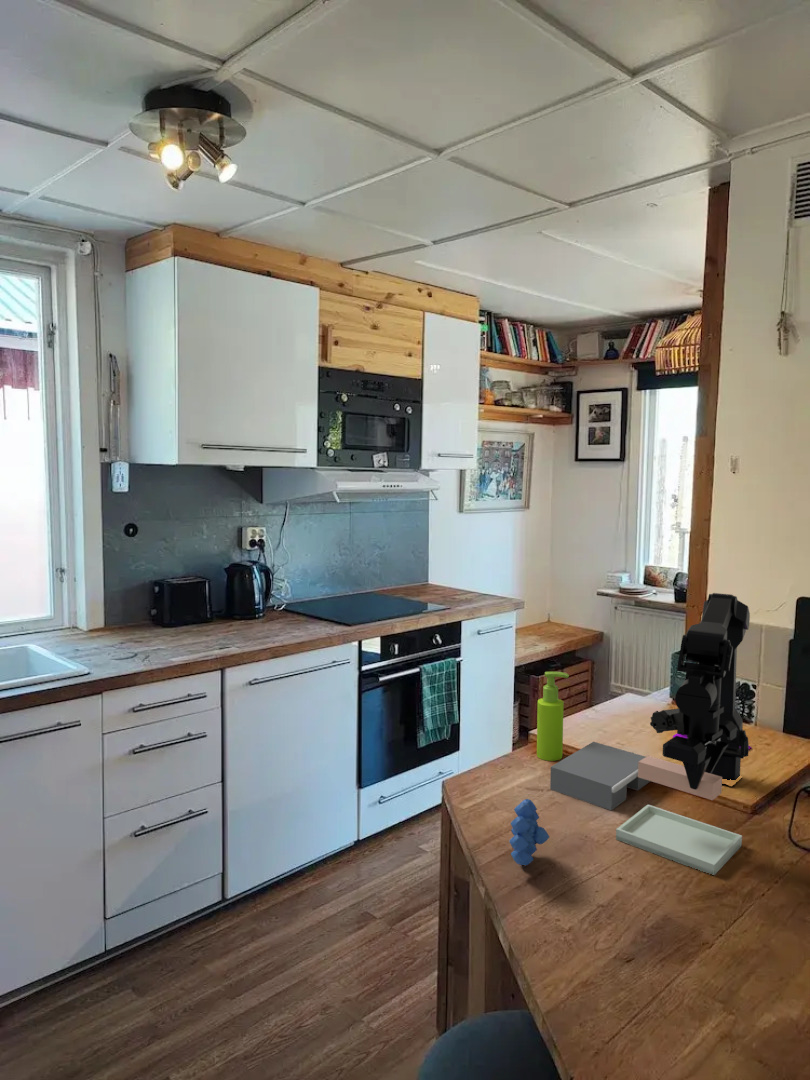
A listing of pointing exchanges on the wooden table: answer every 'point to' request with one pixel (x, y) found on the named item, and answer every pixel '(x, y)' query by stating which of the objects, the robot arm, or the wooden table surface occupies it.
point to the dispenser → (598, 775)
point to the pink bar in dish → (678, 777)
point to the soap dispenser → (550, 720)
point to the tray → (680, 838)
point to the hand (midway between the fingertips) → (698, 784)
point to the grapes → (526, 833)
